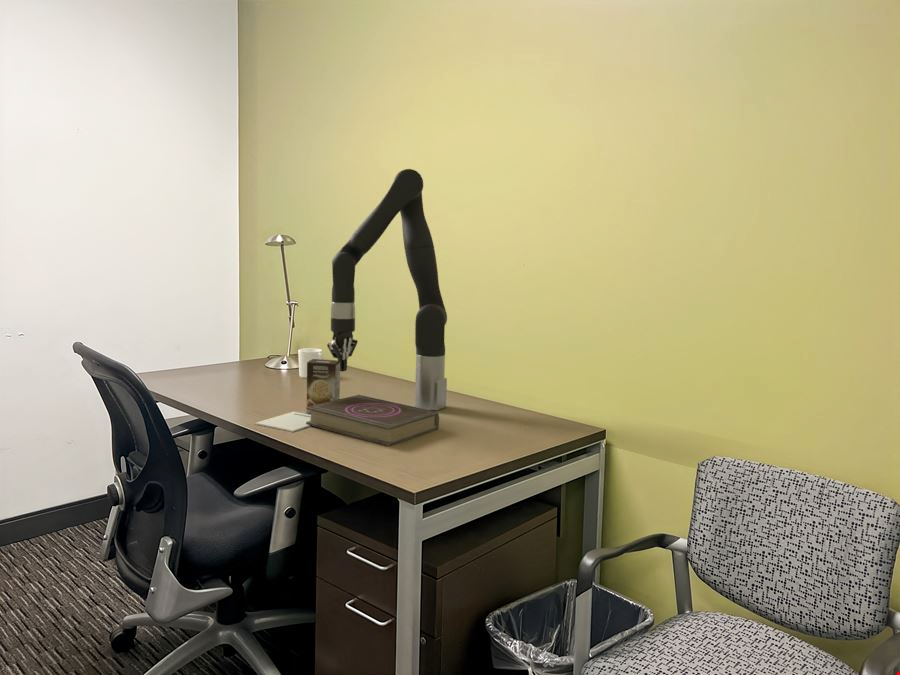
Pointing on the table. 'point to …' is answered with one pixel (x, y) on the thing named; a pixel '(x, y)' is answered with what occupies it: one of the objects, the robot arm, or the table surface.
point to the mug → (307, 359)
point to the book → (373, 419)
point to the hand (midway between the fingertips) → (342, 370)
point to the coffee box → (322, 382)
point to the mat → (287, 421)
